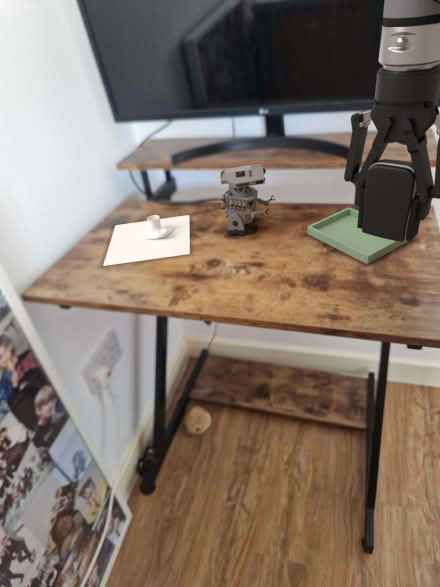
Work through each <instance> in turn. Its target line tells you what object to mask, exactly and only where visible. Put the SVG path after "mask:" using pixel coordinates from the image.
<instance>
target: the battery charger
mask: <svg viewBox="0 0 440 587" xmlns="http://www.w3.org/2000/svg"><path fill="white" fill-rule="evenodd" d="M417 195H418V190H417V185H416V180H415V175H414V170H413V166H412V161H405V160H401V159H400V160H399V159H392V158H391V159H389V158H382V159H380V160H379V161H378V162H377V163H375V164H373V165H372V166H371V167H370V168H369V170H368V173H367V178H366V185H365V196H364V217H363V226H362V232H363V233H366V234H369V235H373V236H376V237H380V238H384V239H389V240H393V241H399V242H403V241H405V239H406V234H407V228H408V222H409V217H410V211H411V206H412V200H413V199H414V198H415V197H416V196H417Z"/></svg>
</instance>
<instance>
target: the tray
mask: <svg viewBox="0 0 440 587" xmlns="http://www.w3.org/2000/svg"><path fill="white" fill-rule="evenodd" d="M358 213H359V210H357V209H355V208H352V207H346V208H344V209H342V210H340V211H338V212H336V213H333V214H331V215H329V216H327V217H325V218H323V219H321V220H318V221H316V222H314V223H312V224H310V225H308V226H307V229H306V231H307V232H306V234H307V235H309V236H311V237H313V238H315V239H317V240H319V241H320V242H323V243H324V244H327V245H328V246H331V247H332V248H334V249H336V250H339V251H340V252H342V253H344V254H346V255H347V256H350V257H352V258H353V259H356V260H358V261H360V262H362V263H363V264H366V265H370V263H372V262H374V261H376V260H379V259H380V258H382V257H383V256H385V255H387V254H389V253H390V252H392V251H394V250H396V249H398V248H400V247H402V246H403V245H405V244H407V243H408V242H410V241H406V240H405V241H403V242H399V241H393V240H389V239H384V238H380V237H376V236H373V235H369V234H366V233H363V232H362V229H360V228H357V223H358Z"/></svg>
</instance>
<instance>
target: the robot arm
mask: <svg viewBox="0 0 440 587" xmlns="http://www.w3.org/2000/svg"><path fill="white" fill-rule="evenodd" d="M381 26H382V27H381V36H380V46H379V54H378V63H379V64H380V65H381V67H379V69H378V70H377V72H376V82H375V91H374V103H373V106H372V108H371V109H370V110H366V109H360V110H359V111H357V112H355V113H354V114H352V115H351V116H350V124H351V137H350V142H349V148H348V153H347V158H346V164H345V170H344V176H343V180H344V181H345V182H347V183H349V182H350V183H352V184H353V185H354V187H355V188H354V189H355V190H354V201H353V202H354V206H355V207H358V211H359V213H358V223H357V228H360V229H362V226H363V217H364V196H365V185H366V178H367V173H368V170H369V168H370V167H371V166H372V165H373V164H375V163H377V162H378V161H380V160H381V158H382V156H383V154H384V153H385V150H386V149H387V146H388V144H394V143H397V144H399V145H403V146H406V149H407V153H408V154H409V155H410V162H412V166H413V170H414V175H415V180H416V185H417V190H418V195H417V196H416V197H415V198H414V199H413V200H412V206H411V211H410V217H409V222H408V228H407V234H406V239H405V240H406V241H409V242H412V240H414V239H415V237H416V236H417V235H418V234H419V229H420V225H421V221H423V222H424V221H425V219H426V218H428V216H429V215H430V211H431V206H432V201H433V199H436V200H440V109H439V106H438V104H439V103H438V101H439V98H440V0H384V3H383V15H382V25H381ZM371 122H372V123H371ZM371 124H373V125H374V127H375V129H376V135H375V137H374V139H373V141H372V144H371V147H370V149H369V152H368V154H367V155H366V158H365V160H364V161H363V155H364V151H365V146H366V141H367V136H368V132H369V126H370V125H371ZM432 126H436V130H435V131H436V135H437V136H438V139H437V144H436V156H435V157H436V158H435V171H434V178H433V171H432V167H431V162H430V156H429V152H428V138H427V137H428V136H427V131H428V130H430V129H431V127H432ZM362 161H363V164H362ZM361 165H362V166H361Z"/></svg>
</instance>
